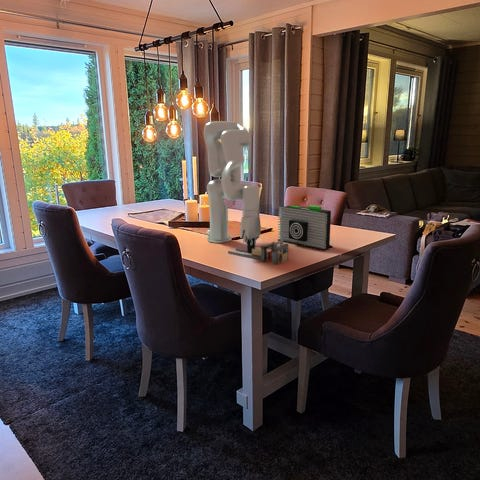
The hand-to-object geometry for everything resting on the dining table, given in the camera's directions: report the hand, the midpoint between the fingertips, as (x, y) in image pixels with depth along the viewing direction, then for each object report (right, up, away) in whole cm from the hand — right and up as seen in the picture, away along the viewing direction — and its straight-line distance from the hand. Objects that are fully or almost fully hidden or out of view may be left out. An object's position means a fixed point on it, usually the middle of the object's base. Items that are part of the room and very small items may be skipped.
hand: (251, 252), depth 184 cm
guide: (-1, -1, +1) cm, 2 cm away
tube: (+8, -3, -5) cm, 10 cm away
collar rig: (+10, -3, -7) cm, 13 cm away
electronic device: (+26, +3, +17) cm, 32 cm away
